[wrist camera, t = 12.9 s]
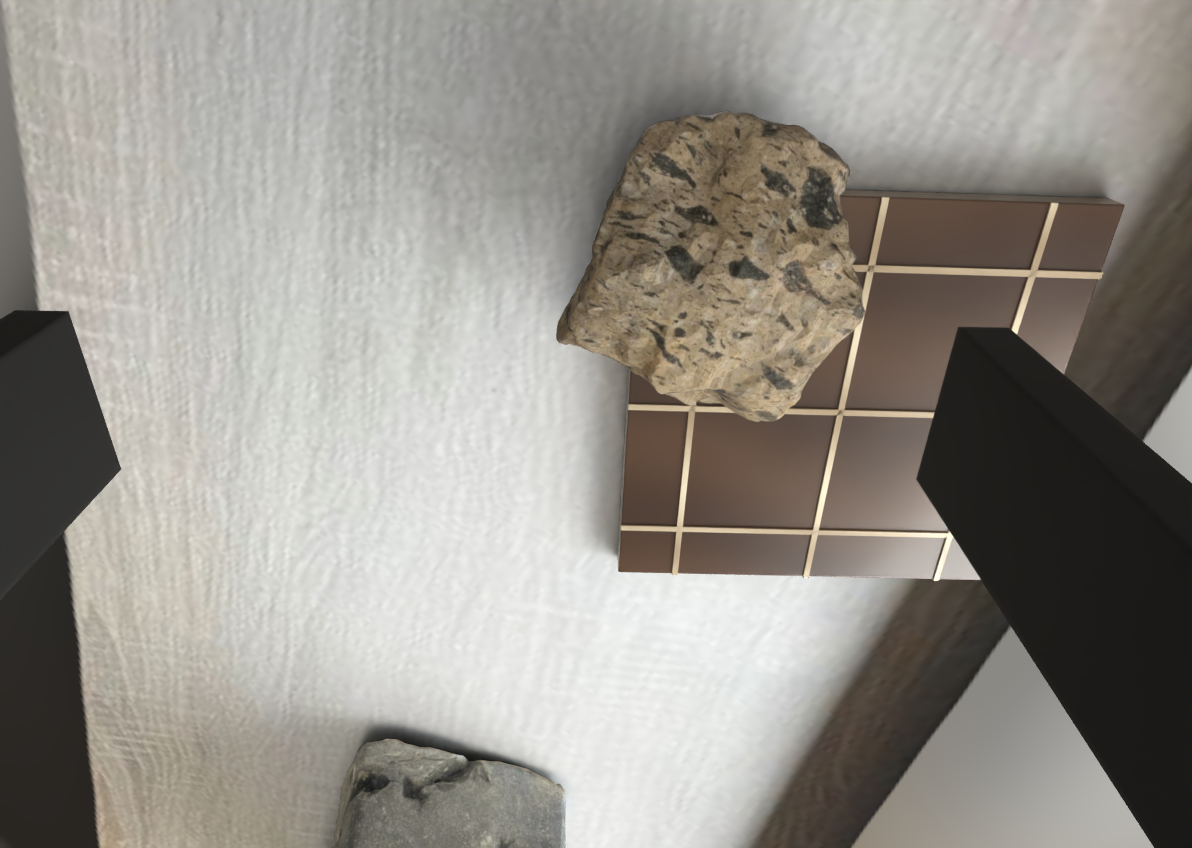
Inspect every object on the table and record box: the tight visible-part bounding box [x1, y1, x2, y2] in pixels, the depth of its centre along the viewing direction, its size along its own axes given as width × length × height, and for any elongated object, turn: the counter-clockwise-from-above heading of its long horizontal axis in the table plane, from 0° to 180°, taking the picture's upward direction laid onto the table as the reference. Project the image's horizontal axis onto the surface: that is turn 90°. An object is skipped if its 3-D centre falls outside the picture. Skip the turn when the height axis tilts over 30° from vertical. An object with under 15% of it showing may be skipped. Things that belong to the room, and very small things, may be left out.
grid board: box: [618, 190, 1124, 581], centre depth 38 cm, size 20×20×1 cm
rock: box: [556, 111, 866, 422], centre depth 31 cm, size 11×12×4 cm
